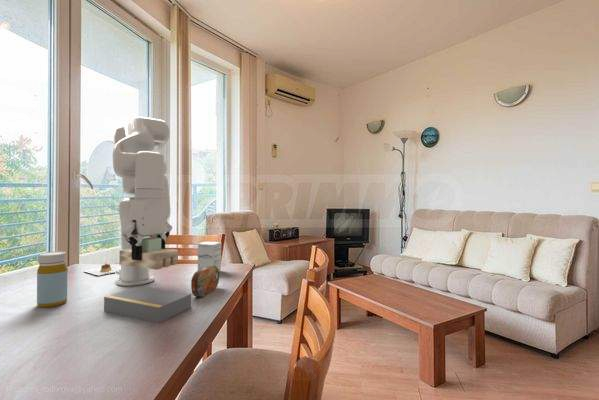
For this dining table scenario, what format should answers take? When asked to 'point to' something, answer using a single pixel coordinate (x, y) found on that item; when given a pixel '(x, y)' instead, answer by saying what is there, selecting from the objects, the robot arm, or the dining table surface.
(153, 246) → the box
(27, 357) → the dining table surface
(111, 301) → the dock
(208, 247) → the supplement box
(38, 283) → the bottle
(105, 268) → the dessert
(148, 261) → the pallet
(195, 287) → the tin
